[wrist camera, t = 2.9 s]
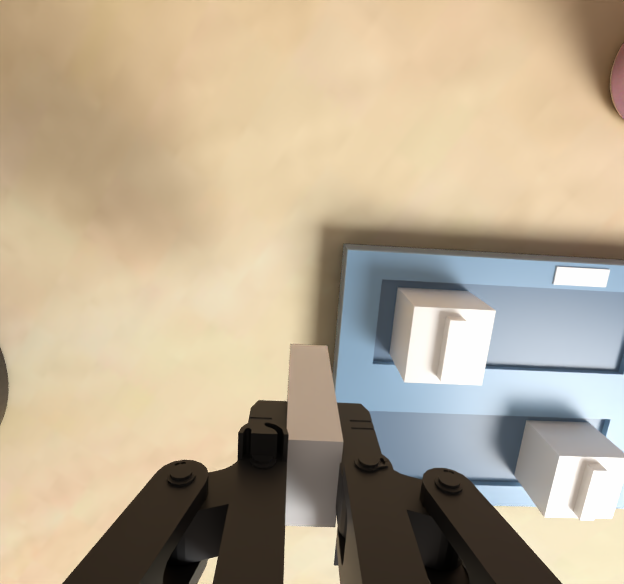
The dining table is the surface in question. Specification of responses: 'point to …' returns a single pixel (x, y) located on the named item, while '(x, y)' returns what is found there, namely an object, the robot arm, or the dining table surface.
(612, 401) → the switch bank
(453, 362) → the tab near
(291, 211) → the dining table surface
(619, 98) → the beverage can
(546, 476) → the tab far
